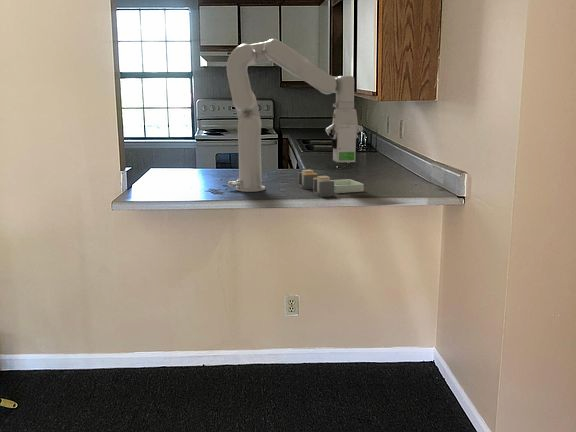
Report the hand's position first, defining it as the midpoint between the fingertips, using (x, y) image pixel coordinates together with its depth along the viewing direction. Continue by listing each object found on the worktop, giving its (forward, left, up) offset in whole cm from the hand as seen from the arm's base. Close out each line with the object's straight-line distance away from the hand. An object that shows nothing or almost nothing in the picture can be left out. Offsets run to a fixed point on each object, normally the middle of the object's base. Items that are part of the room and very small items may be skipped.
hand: (344, 147), depth 259 cm
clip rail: (-13, +1, -18) cm, 22 cm away
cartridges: (-13, +1, -18) cm, 22 cm away
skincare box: (0, 0, -6) cm, 6 cm away
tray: (0, 0, -18) cm, 18 cm away
